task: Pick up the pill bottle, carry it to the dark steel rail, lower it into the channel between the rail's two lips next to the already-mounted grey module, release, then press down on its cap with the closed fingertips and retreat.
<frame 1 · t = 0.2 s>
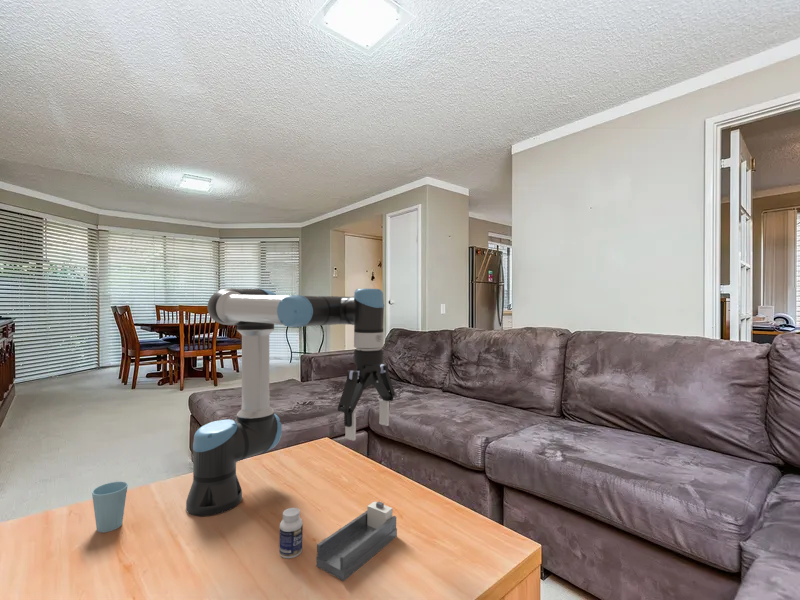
hand: (368, 431, 100), 27 cm above the table, fingers open, 13 cm apart
mounted module: (379, 533, 102), resting on rail
rail: (359, 550, 95), on the table
cup: (109, 527, 104), on the table
pill bottle: (290, 552, 94), on the table
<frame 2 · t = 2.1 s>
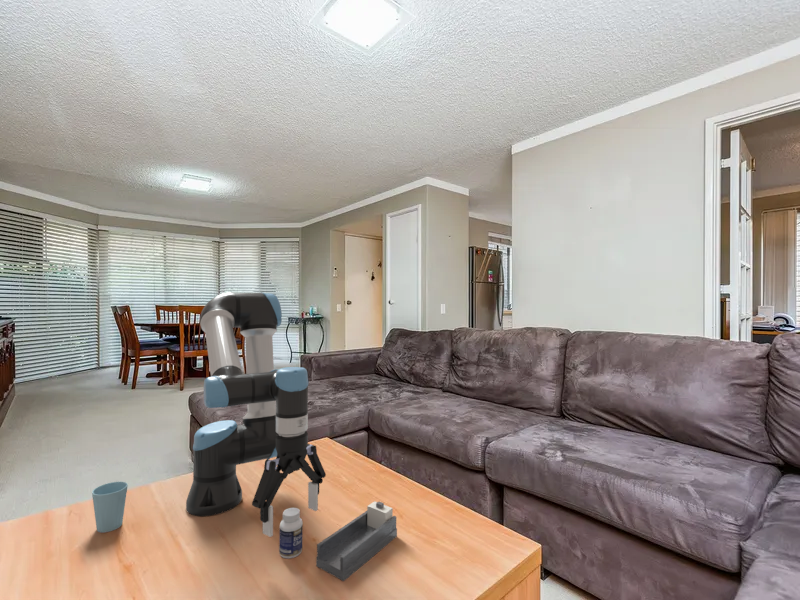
hand: (291, 521, 94), 8 cm above the table, fingers open, 13 cm apart
nothing on the table moved.
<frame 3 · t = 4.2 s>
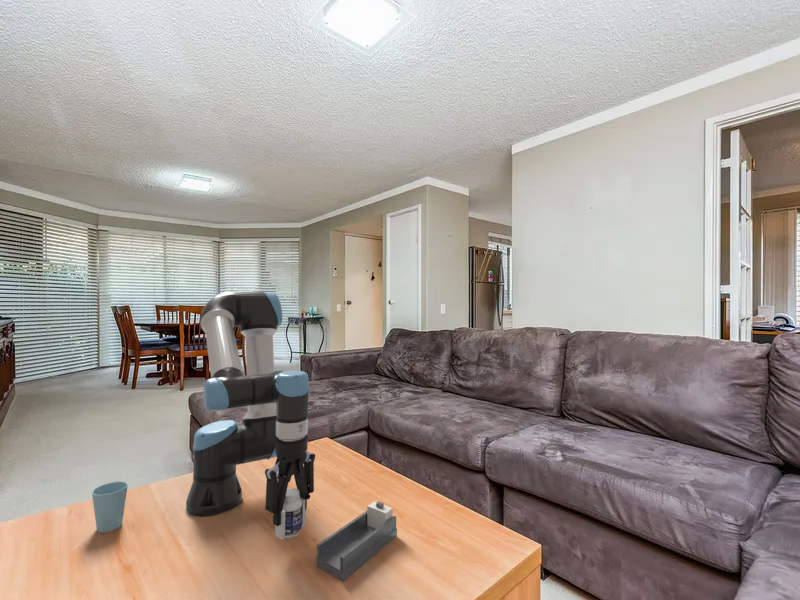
hand: (290, 530, 95), 5 cm above the table, fingers closed on pill bottle, 5 cm apart
pill bottle: (290, 532, 95), point 4 cm above the table, touching gripper
everything else where it was.
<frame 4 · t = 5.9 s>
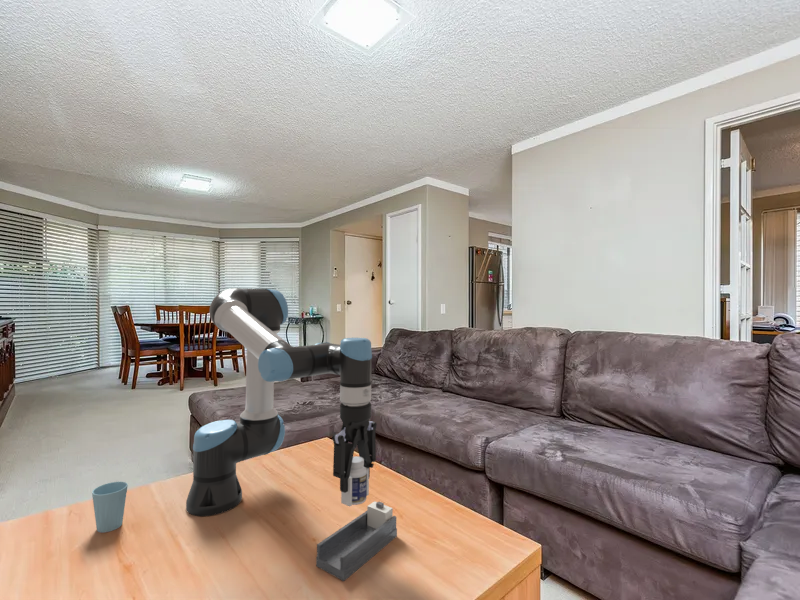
hand: (355, 498, 94), 13 cm above the table, fingers closed on pill bottle, 5 cm apart
pill bottle: (355, 500, 94), point 13 cm above the table, touching gripper
everything else where it was.
when the fingers open (3 cm above the table, at t = 7.9 s): pill bottle stays where it is, resting on rail.
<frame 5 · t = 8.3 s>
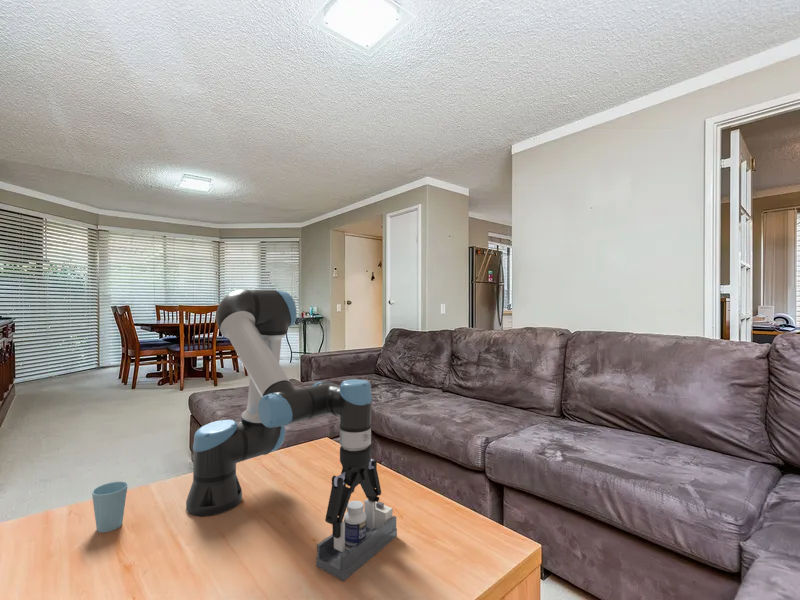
hand: (355, 537, 94), 4 cm above the table, fingers open, 10 cm apart
pill bottle: (354, 546, 94), point 2 cm above the table, touching rail
everything else where it was.
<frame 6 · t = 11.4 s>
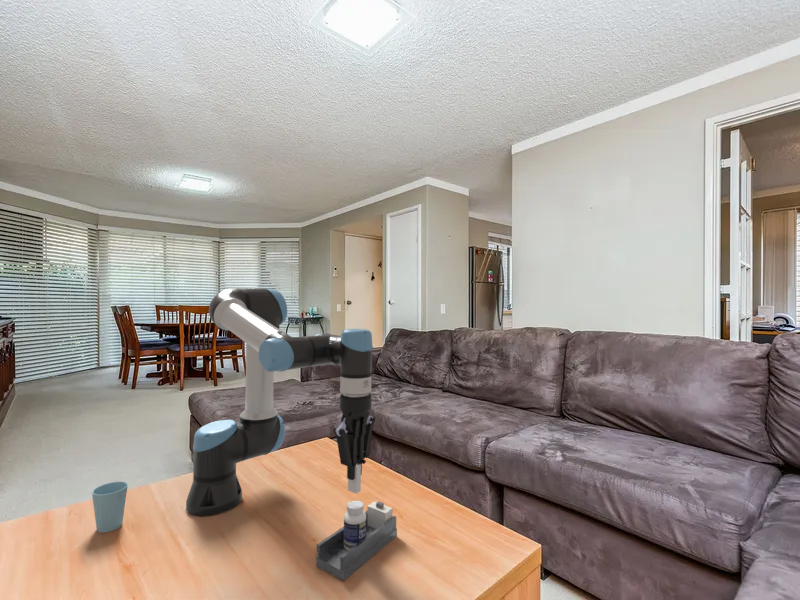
hand: (354, 490, 94), 15 cm above the table, fingers closed
nothing on the table moved.
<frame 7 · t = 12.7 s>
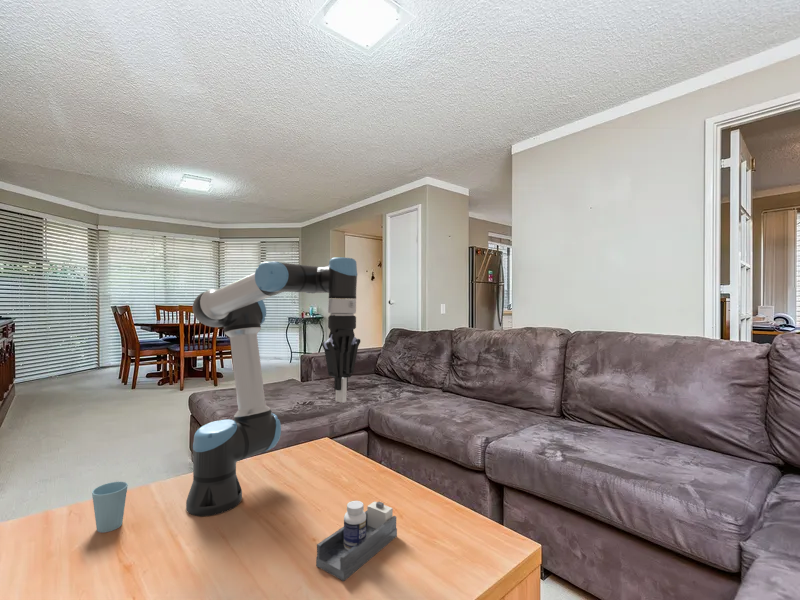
hand: (340, 401, 106), 34 cm above the table, fingers closed
nothing on the table moved.
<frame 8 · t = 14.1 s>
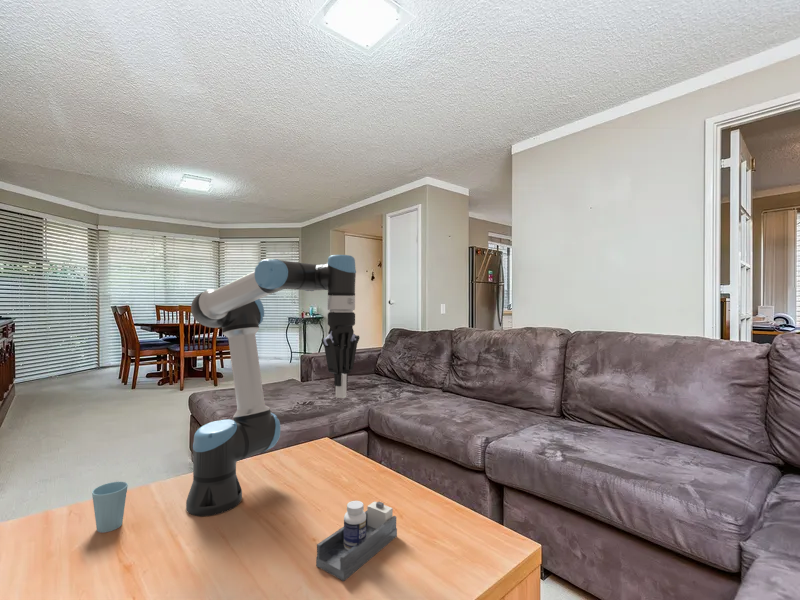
hand: (340, 397, 107), 34 cm above the table, fingers closed
nothing on the table moved.
at the end: pill bottle inside the target area on the rail (0.0 cm from its centre), point 1.8 cm above the rail's base; pill bottle tilted 0°; the gripper is holding nothing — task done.
